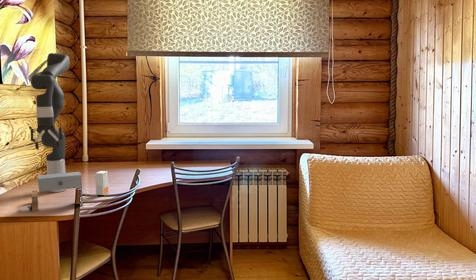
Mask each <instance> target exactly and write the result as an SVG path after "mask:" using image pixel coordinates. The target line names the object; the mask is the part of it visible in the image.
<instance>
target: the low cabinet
mask: <svg viewBox="0 0 476 280" xmlns="http://www.w3.org/2000/svg"><path fill="white" fill-rule="evenodd" d="M82 182H83V180H82V174H81V171H75V172H74V171H73V172H72V171H71V172H65V173H59V174H48V175H47V174H40V175H39V174H38V175H37V183H38V184H37V185H38V193H41V192H49V191H53V190H62V189H66V190H72V189H77V188H79V189H81V194H82V195H83V183H82ZM81 201H83V202H84V198H83V197H81ZM80 207H84V203H83V204H81V206H80Z"/></svg>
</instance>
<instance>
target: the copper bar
mask: <svg viewBox="0 0 476 280" xmlns="http://www.w3.org/2000/svg"><path fill="white" fill-rule="evenodd" d="M38 193H39V192H38V189H37V190H31V206H32V211H31V212H32V213H33V212H34V213H35V212H39V197H38V196H39V195H38Z"/></svg>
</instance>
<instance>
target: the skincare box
mask: <svg viewBox="0 0 476 280" xmlns="http://www.w3.org/2000/svg"><path fill="white" fill-rule="evenodd" d="M94 175H95V176H94V177H95V195H104V196H106V195H108V194H109V175H108V171H107V170H106V171H105V170H100V171H97V172H95V173H94Z"/></svg>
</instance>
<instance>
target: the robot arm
mask: <svg viewBox="0 0 476 280" xmlns="http://www.w3.org/2000/svg"><path fill="white" fill-rule="evenodd" d="M70 62H71V60H70V57H69V55H67V54H65V53H57V52H54V53H53V52H50V53H48V55H47V58H46V67H45V68H44V69H43V70H41V71H39V72H37V73H35V74H33V75H32V76H31V79H30V86H31V87H32V88H33V89H35V90H45V92H44V93H42V94H37V95H36V97H35V101H36V123H37V124H36V125H37V126H36V128H30V141H31V142H34V144H35V146H34V147H35V149H36V151H39V147H40V146H39V140H40V139H41V143H42V146H44V147H45V148H52V151H51V152H50V153H48V154H46V156H45V158H46V159H45V161H46V175H48V174H59V173H66V160H65V158H66V157H65V156H66V135H65V133H64V132H63V131H62V128H61V127H60V126H59V127H55V126H56V120H57V119H58V117H59V116H60V114H61V112H62V110H63V108H64V104H65V94H64V92H63V90H62V88H61V86H60V84H59V83H58V80H57V77H59V76H60V75H62V74H63V73H65V72H66V71H68V70H69V68H70V65H71V63H70ZM36 132H37V133H38V135H37V137H36V138H34V134H35V133H36ZM64 191H67V189H62V190H53V191H48V193H59V192H64Z"/></svg>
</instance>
